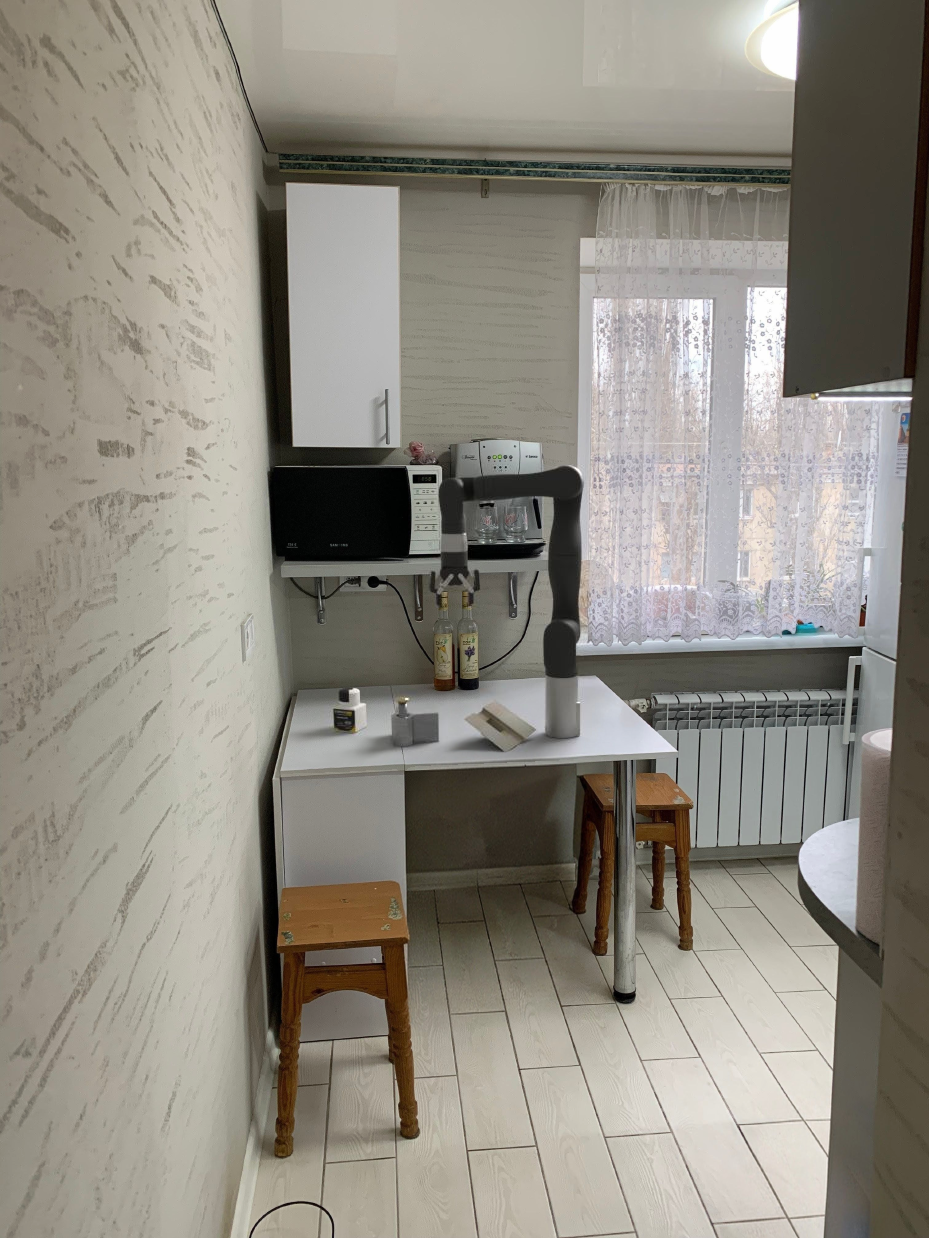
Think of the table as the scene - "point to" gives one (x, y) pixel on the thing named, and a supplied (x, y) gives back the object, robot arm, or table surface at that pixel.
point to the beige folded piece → (500, 725)
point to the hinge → (414, 728)
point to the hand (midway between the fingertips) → (454, 606)
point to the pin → (402, 706)
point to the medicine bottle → (349, 711)
